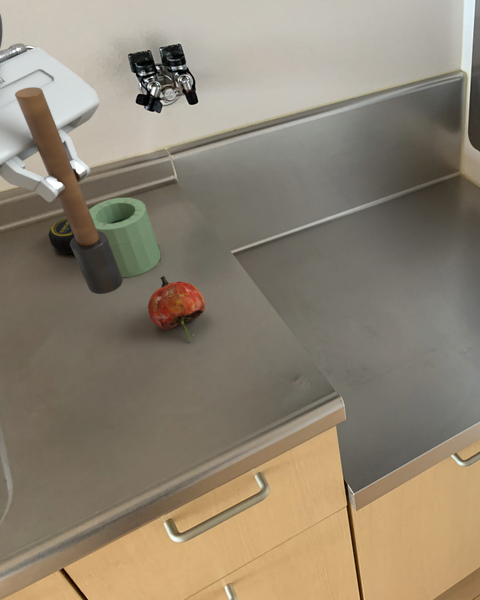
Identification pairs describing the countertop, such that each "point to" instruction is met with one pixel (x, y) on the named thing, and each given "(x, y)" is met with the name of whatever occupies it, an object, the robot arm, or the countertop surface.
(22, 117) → the robot arm
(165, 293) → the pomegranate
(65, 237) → the tape measure
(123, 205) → the green tube segment
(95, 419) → the countertop surface
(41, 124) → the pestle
